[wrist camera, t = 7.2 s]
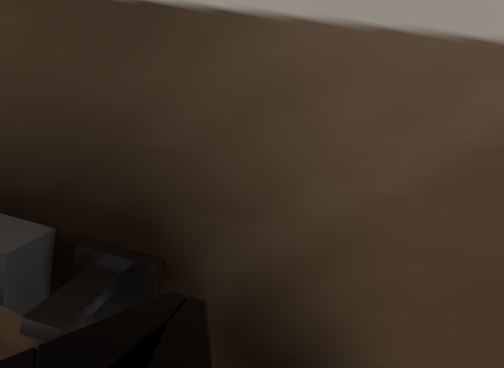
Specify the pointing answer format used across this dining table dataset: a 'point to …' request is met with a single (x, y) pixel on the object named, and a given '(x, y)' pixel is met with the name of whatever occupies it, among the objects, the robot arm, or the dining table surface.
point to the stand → (94, 290)
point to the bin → (25, 263)
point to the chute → (13, 334)
